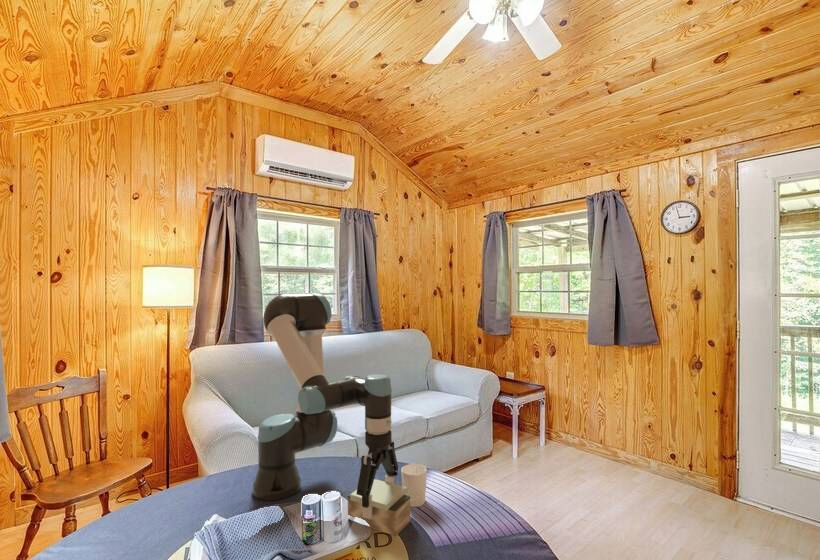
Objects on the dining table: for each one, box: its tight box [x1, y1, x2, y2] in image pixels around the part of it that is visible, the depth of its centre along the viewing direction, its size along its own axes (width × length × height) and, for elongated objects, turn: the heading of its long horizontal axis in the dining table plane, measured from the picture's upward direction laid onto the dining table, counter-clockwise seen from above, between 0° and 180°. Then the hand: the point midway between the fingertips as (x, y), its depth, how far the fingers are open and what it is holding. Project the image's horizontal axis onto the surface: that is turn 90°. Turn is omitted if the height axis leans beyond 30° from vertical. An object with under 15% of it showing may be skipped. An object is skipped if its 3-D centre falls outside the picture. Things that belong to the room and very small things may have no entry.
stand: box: [347, 488, 411, 537], centre depth 118 cm, size 16×8×7 cm, turn 62°
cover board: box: [349, 478, 407, 511], centre depth 118 cm, size 12×11×2 cm
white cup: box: [400, 463, 428, 508], centre depth 129 cm, size 8×8×10 cm
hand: (378, 507), depth 118 cm, fingers closed on cover board, 11 cm apart
